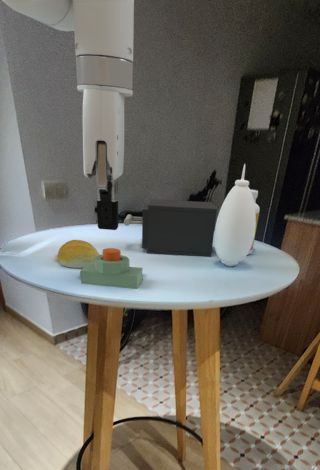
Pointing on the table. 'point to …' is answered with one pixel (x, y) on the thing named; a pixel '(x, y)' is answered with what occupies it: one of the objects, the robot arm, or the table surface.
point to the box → (111, 273)
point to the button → (111, 254)
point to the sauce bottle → (235, 224)
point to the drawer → (144, 223)
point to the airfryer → (180, 227)
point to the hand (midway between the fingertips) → (108, 228)
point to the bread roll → (76, 254)
